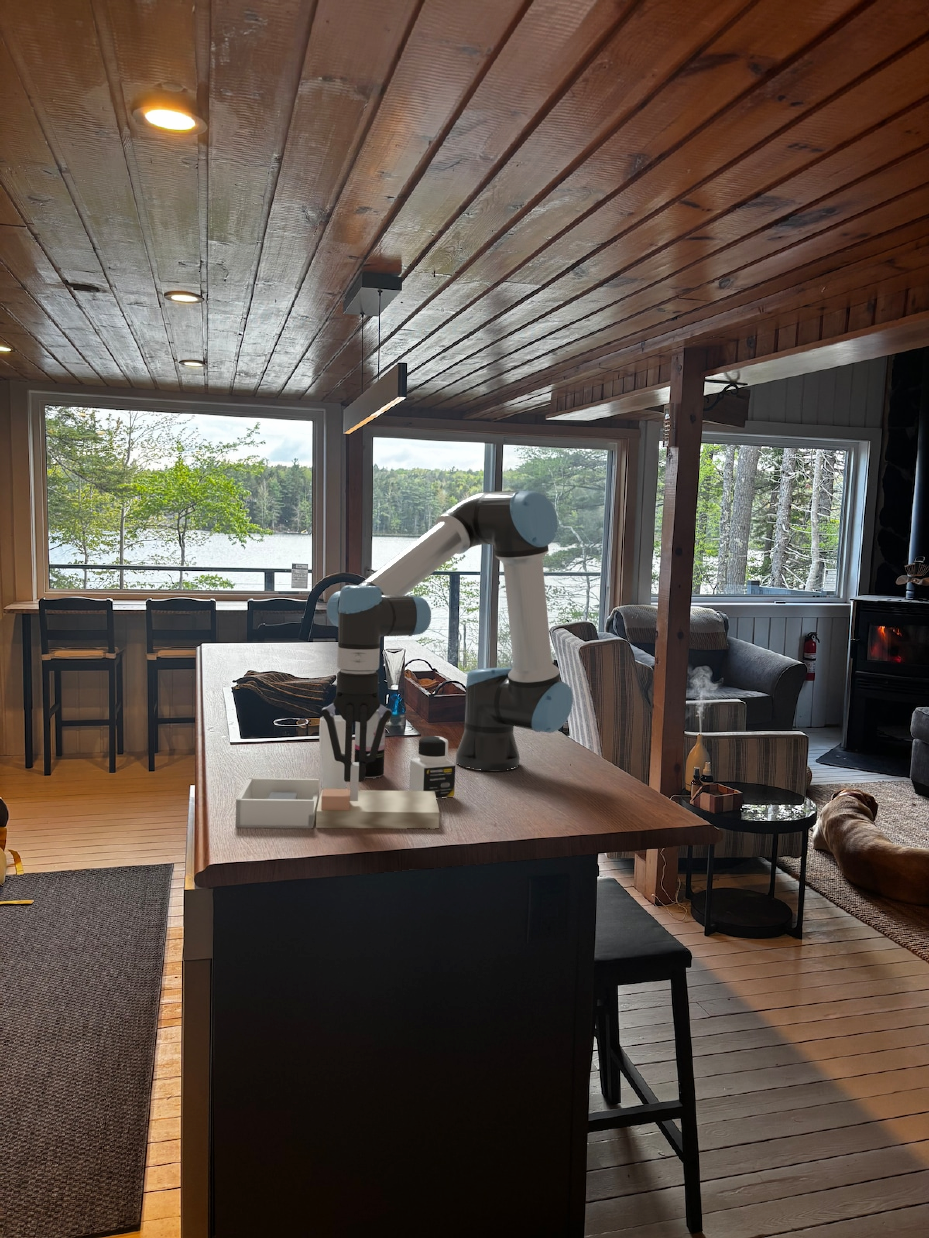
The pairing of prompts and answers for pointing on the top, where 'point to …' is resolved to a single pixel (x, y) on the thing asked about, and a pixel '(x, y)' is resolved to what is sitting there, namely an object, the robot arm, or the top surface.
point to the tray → (277, 803)
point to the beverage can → (377, 766)
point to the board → (384, 811)
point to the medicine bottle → (433, 768)
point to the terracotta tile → (335, 799)
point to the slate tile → (283, 795)
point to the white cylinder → (332, 755)
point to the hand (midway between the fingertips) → (353, 798)
